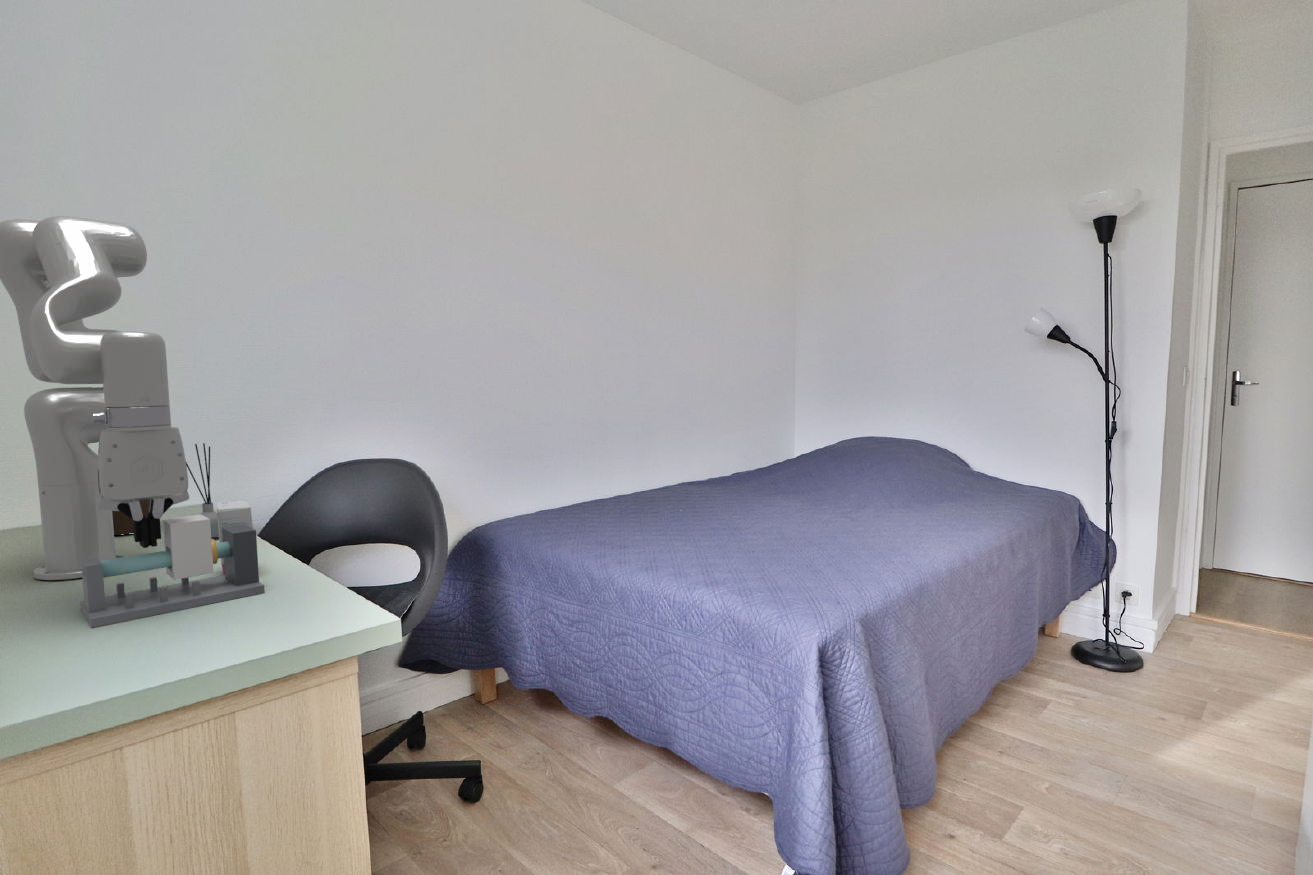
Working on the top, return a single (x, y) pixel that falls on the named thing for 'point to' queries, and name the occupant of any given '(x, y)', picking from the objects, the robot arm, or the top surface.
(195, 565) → the sleeve
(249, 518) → the ink box
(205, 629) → the top surface
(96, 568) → the motor shaft test rig
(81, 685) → the top surface
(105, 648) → the top surface
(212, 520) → the reed diffuser
